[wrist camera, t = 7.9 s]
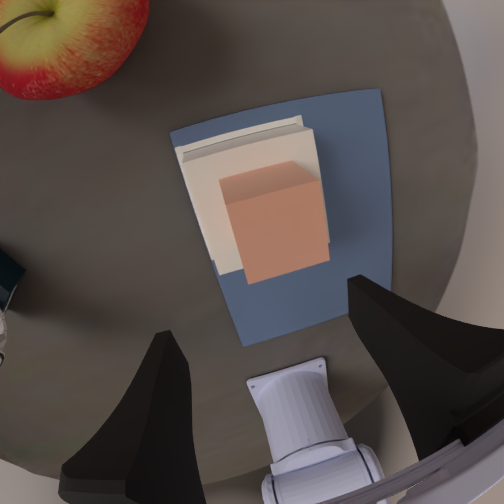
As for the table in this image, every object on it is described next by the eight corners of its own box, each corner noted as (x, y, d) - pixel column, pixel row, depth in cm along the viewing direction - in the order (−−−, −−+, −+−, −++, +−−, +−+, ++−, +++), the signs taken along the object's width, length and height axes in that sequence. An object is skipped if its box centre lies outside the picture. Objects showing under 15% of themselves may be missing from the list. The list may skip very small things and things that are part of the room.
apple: (16, 75, 13) (-87, 82, 4) (82, -35, 10) (17, -98, 2) (110, 118, 16) (34, 145, 8) (185, 3, 14) (178, -76, 5)
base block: (313, 223, 21) (330, 242, 19) (215, 251, 21) (219, 275, 19) (295, 123, 18) (312, 129, 15) (184, 153, 18) (182, 163, 15)
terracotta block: (303, 226, 18) (329, 260, 14) (237, 245, 18) (248, 284, 14) (291, 160, 16) (319, 180, 12) (218, 179, 16) (225, 205, 12)
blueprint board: (387, 294, 27) (391, 297, 26) (242, 342, 26) (243, 347, 26) (376, 88, 18) (380, 88, 17) (169, 131, 17) (168, 132, 17)
